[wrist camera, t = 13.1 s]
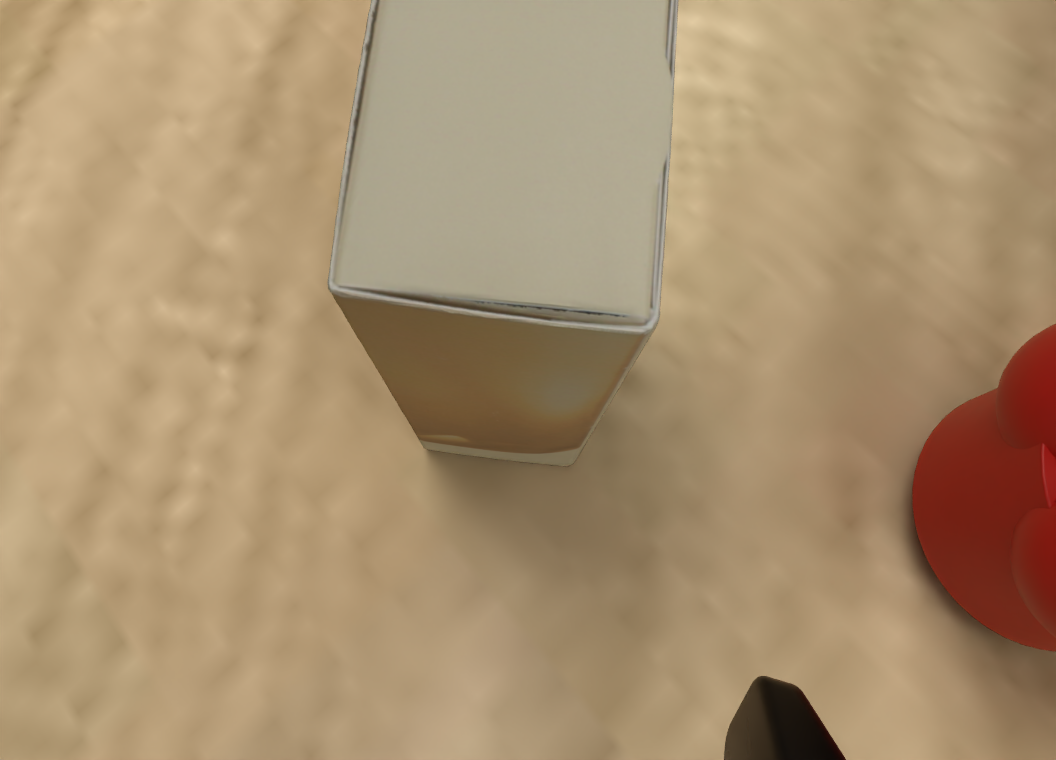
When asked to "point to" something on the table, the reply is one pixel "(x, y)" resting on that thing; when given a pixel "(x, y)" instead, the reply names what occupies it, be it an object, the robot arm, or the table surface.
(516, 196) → the cosmetic box
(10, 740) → the table surface
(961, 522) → the red pepper
